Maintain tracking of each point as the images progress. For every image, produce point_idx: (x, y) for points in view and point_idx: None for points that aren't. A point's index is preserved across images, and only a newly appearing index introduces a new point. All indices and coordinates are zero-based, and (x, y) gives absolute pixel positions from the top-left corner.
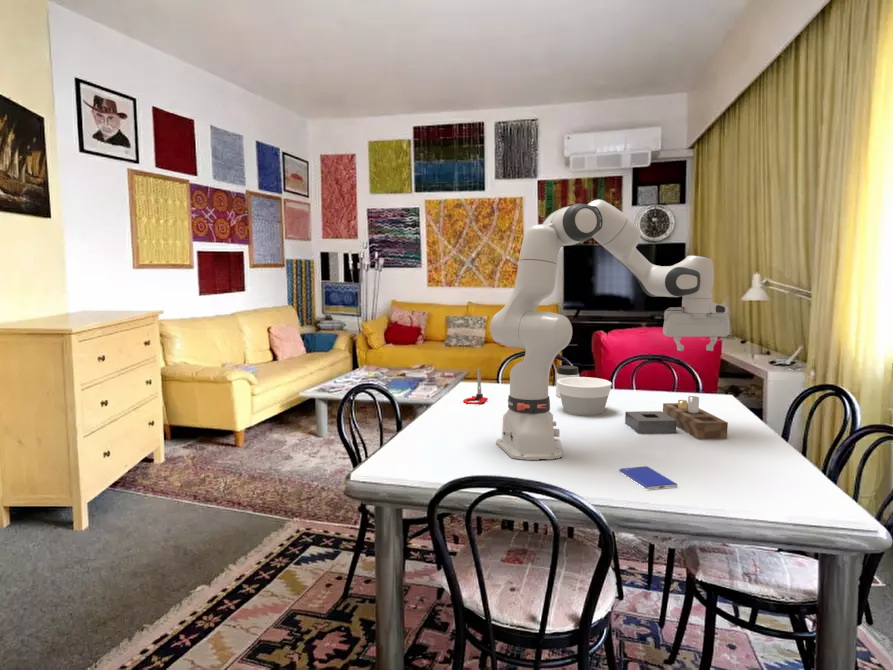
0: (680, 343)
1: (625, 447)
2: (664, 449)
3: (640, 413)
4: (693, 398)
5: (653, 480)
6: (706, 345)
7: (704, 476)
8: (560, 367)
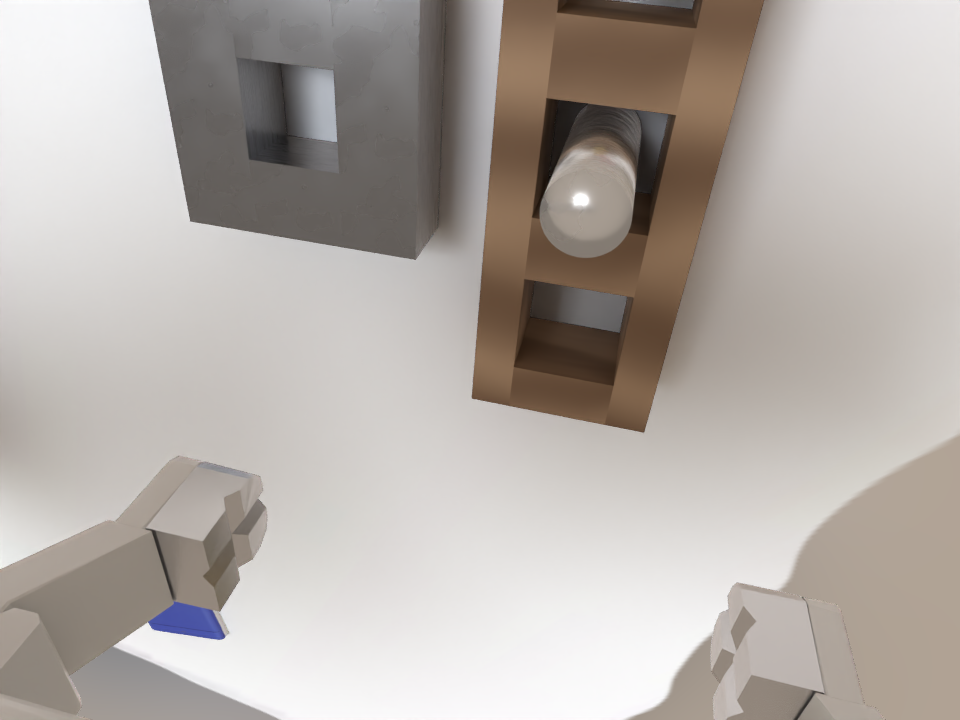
0: (130, 631)
1: (143, 365)
2: (285, 420)
3: (238, 32)
4: (559, 248)
5: (171, 616)
6: (747, 664)
7: (319, 613)
8: None
